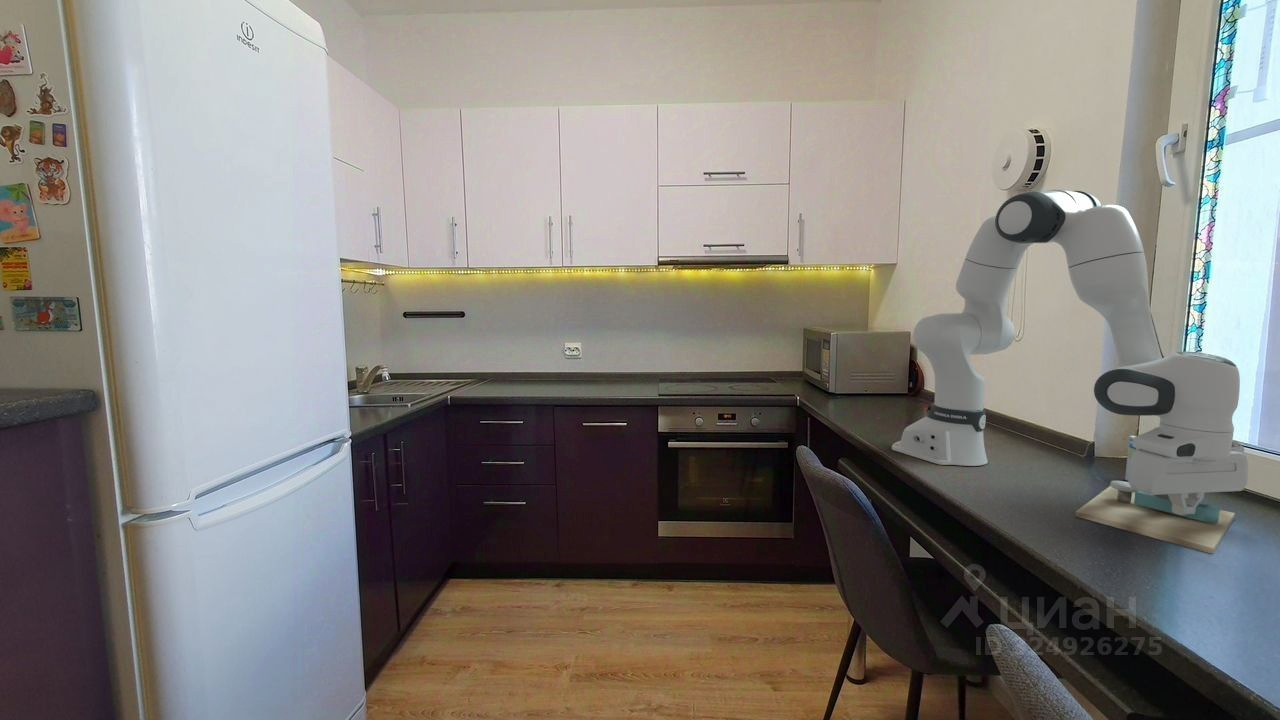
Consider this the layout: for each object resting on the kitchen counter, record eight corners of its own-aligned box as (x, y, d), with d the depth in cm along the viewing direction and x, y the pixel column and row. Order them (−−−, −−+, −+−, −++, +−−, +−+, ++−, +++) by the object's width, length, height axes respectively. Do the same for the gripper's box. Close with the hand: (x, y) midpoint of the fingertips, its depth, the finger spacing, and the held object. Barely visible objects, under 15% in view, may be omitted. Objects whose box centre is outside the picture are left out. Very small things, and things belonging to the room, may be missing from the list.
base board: (1075, 516, 94) (1076, 499, 94) (1110, 489, 107) (1111, 474, 107) (1213, 554, 80) (1215, 533, 79) (1234, 518, 93) (1236, 500, 92)
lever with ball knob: (1105, 497, 99) (1107, 483, 99) (1113, 493, 101) (1115, 479, 101) (1214, 525, 86) (1217, 508, 86) (1221, 519, 89) (1223, 503, 88)
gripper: (1221, 435, 92) (1211, 504, 93) (1124, 438, 90) (1115, 509, 91) (1267, 444, 85) (1255, 518, 87) (1163, 448, 84) (1153, 524, 85)
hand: (1183, 513), depth 89 cm, fingers closed
